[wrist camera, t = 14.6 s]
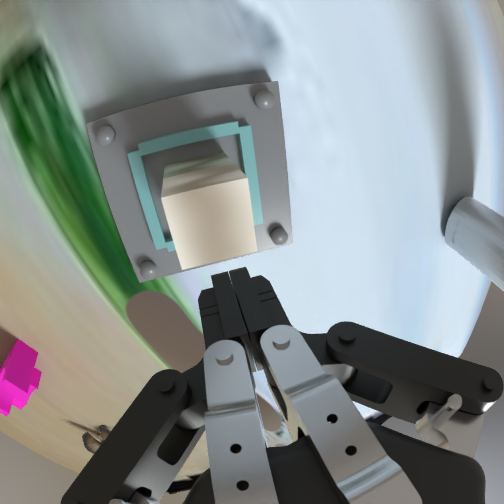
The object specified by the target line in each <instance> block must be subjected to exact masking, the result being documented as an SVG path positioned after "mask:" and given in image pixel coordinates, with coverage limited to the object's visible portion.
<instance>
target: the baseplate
mask: <svg viewBox="0 0 504 504" xmlns="http://www.w3.org/2000/svg"><path fill="white" fill-rule="evenodd" d="M86 126H87V130H88V134H89V138H90V142H91V146H92V150H93V154H94V157H95V161H96V164H97V168H98V171H99V175H100V178H101V181H102V184H103V188H104V191H105V194H106V197H107V200H108V203H109V206H110V209H111V212H112V214H113V217H114V220H115V223H116V226H117V228H118V231H119V234H120V236H121V239H122V241H123V244H124V247H125V249H126V252H127V254H128V257H129V259H130V261H131V264H132V266H133V268H134V271H135V273H136V275H137V278H138V280H139V282H140V283H141V282H144V281H148V280H152V279H156V278H160V277H164V276H168V275H172V274H176V273H180V272H184V271H188V270H192V269H195V268H199V267H203V266H207V265H211V264H215V263H219V262H223V261H227V260H231V259H235V258H238V257H242V256H246V255H250V254H254V253H258V252H262V251H266V250H270V249H273V248H277V247H281V246H285V245H289V244H293V242H292V226H291V211H290V197H289V184H288V172H287V161H286V150H285V140H284V130H283V120H282V111H281V102H280V94H279V86H278V81H274V82H263V83H253V84H244V85H236V86H229V87H223V88H216V89H211V90H205V91H200V92H194V93H190V94H185V95H180V96H176V97H171V98H167V99H163V100H159V101H155V102H152V103H148V104H144V105H141V106H137V107H134V108H131V109H127V110H124V111H121V112H118V113H115V114H112V115H109V116H106V117H103V118H101V119H98V120H95V121H92V122H90V123H87V124H86ZM222 152H224V153H225V154H226V155H227V156H228V157H229V158H230V159H231V160H232V161H233V162H234V163H235V164H236V166H237V167H238V168H239V169H240V170H241V171H242V172H243V173H244V174H245V175H246V177H247V178H248V184H249V191H250V198H251V206H252V213H253V221H254V228H255V236H256V244H257V252H253V253H249V254H245V255H241V256H237V257H233V258H229V259H225V260H221V261H217V262H213V263H209V264H205V265H201V266H197V267H193V268H189V269H185V270H182V268H181V265H180V262H179V258H178V255H177V252H176V249H175V245H174V242H173V239H172V235H171V232H170V229H169V225H168V222H167V218H166V215H165V211H164V207H163V204H162V200H161V193H162V184H163V176H164V168H165V165H169V164H173V163H177V162H181V161H185V160H190V159H194V158H199V157H203V156H208V155H212V154H217V153H222Z"/></svg>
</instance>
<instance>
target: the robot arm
mask: <svg viewBox="0 0 504 504" xmlns="http://www.w3.org/2000/svg"><path fill="white" fill-rule="evenodd" d="M445 240H446V243H447V244H448V245H449V246H450V247H451V248H453V249H454V250H455V251H456V252H458V253H459V254H460V255H461V256H463V257H464V258H465V259H466V260H468V261H469V262H470V263H471V264H472V265H474V266H475V267H476V268H477V269H478V270H480V271H481V272H482V273H483V274H484V275H485V276H487V277H488V278H489V279H490V280H491V281H492V282H494V283H495V284H496V285H497V286H498V287H499V288H500V289H501V290H502V291H504V217H503V216H501V215H499V214H498V213H496V212H495V211H493V210H492V209H490V208H488V207H487V206H485V205H484V204H482V203H480V202H478V201H477V200H475V199H473V198H472V197H469V196H467V197H464V198H463V199H461V200H460V201H459V202H458V203H457V205H456V206H455V207H454V209H453V211H452V212H451V214H450V217H449V219H448V222H447V225H446V230H445ZM229 274H230V277H229ZM229 274H228V271H227V272H223V273H219V274H215V275H211V278H212V283H213V288H209V289H205V290H202V291H201V293H200V296H199V298H198V303H199V309H200V316H201V322H202V328H203V334H204V339H205V346H206V351H205V354H204V357H203V358H202V360H201V361H200V362H199V363H198V364H197V365H196V366H194V367H193V368H191V369H189V370H187V371H185V372H183V373H180V372H179V371H177V370H173V369H166V370H162V371H160V372H158V373H156V374H155V375H153V376H152V377H151V379H150V380H149V381H148V383H147V384H146V385H145V387H144V388H143V389H142V391H141V392H140V393H139V395H138V396H137V397H136V399H135V400H134V401H133V403H132V404H131V405H130V407H129V408H128V409H127V411H126V412H125V413H124V415H123V416H122V417H121V419H120V420H119V421H118V423H117V424H116V425H115V427H114V428H113V429H112V431H111V432H110V433H109V435H108V436H107V438H106V439H105V440H104V442H103V443H102V444H101V446H100V447H99V448H98V450H97V451H96V452H95V454H94V455H93V456H92V458H91V459H90V460H89V462H88V463H87V464H86V466H85V467H84V469H83V470H82V471H81V473H80V474H79V476H78V477H77V478H76V479H75V481H74V482H73V483H72V485H71V486H70V488H69V489H68V490H67V492H66V493H65V494H64V496H63V497H62V500H61V504H161V503H160V502H159V501H160V500H161V498H162V497H163V495H164V494H165V492H166V491H167V489H168V488H169V486H170V485H171V483H172V482H173V480H174V478H175V477H176V475H177V474H178V472H179V471H180V469H181V468H182V466H183V464H184V463H185V461H186V460H187V458H188V457H189V455H190V453H191V452H192V450H193V448H194V447H195V445H196V444H197V442H198V440H199V439H200V437H201V435H202V434H203V432H204V430H206V439H207V448H208V456H209V464H210V468H209V469H207V470H206V471H205V472H204V473H203V474H202V475H201V476H200V477H199V478H198V479H197V481H196V482H195V483H194V485H193V487H192V488H191V490H190V492H189V494H188V496H187V497H186V499H185V501H184V502H183V504H485V475H484V471H483V469H482V467H481V466H480V464H479V463H478V462H477V461H476V460H475V459H473V458H474V455H475V451H476V448H477V444H478V441H479V437H480V433H481V429H482V425H483V421H484V416H485V413H486V411H487V410H488V408H490V407H491V406H492V405H493V404H494V403H495V402H496V401H497V400H498V398H499V397H500V396H501V395H502V392H503V381H502V378H501V376H500V375H499V373H498V372H497V371H495V370H494V369H492V368H489V367H485V366H482V365H479V364H476V363H472V362H469V361H466V360H462V359H460V358H456V357H453V356H450V355H447V354H444V353H441V352H438V351H435V350H432V349H429V348H426V347H423V346H420V345H417V344H414V343H411V342H408V341H405V340H402V339H399V338H396V337H393V336H390V335H387V334H385V333H382V332H379V331H376V330H373V329H370V328H368V327H365V326H362V325H359V324H356V323H353V322H340V323H337V324H335V325H333V326H332V327H331V328H330V329H329V330H328V332H327V333H323V334H306V333H302V332H300V331H298V330H297V329H295V328H294V327H293V326H292V325H291V323H290V322H289V320H288V318H287V316H286V314H285V312H284V310H283V307H282V305H281V303H280V301H279V299H278V298H277V295H276V293H275V291H274V289H273V287H272V285H271V283H270V281H268V280H267V279H266V278H264V277H263V276H261V275H260V276H256V277H252V278H250V275H249V273H248V270H247V268H246V267H243V268H239V269H235V270H231V271H229ZM230 279H231V280H230ZM231 283H232V284H231ZM253 358H254V360H253ZM254 361H255V364H256V367H257V370H258V371H259V370H262V369H264V372H265V375H266V378H267V382H268V386H269V389H270V391H271V393H272V395H273V397H274V399H275V402H276V404H277V406H278V408H279V410H280V412H281V414H282V416H283V418H284V421H285V423H286V425H287V428H288V431H289V434H290V436H291V439H292V441H293V443H291V444H290V445H288V446H283V447H268V443H267V439H266V436H265V432H264V427H263V423H262V419H261V414H260V410H259V406H258V401H257V397H256V392H255V381H254V377H253V373H252V372H256V368H255V364H254ZM352 401H355V402H357V403H359V404H362V405H364V406H367V407H369V408H372V409H375V410H377V411H380V412H382V413H385V414H388V415H391V416H393V417H396V418H399V419H402V420H405V421H408V422H411V423H414V424H416V430H417V433H418V435H419V437H420V438H422V439H424V440H426V441H428V442H429V443H430V444H428V443H425V442H423V441H420V440H417V439H415V438H412V437H409V436H407V435H404V434H402V433H399V432H396V431H394V430H391V429H389V428H387V427H384V426H381V425H379V424H375V423H370V422H366V421H365V420H364V418H363V417H362V415H361V414H360V412H359V411H358V409H357V408H356V406H355V405H354V403H353V402H352Z"/></svg>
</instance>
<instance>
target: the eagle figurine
mask: <svg viewBox="0 0 504 504" xmlns="http://www.w3.org/2000/svg"><path fill="white" fill-rule="evenodd" d="M99 428H100V431H101V435H102V437H101V436H99V435H98V439H99V440H100V441H101V442H99V441H97V440H96V439H95V438H93V437H92V436H91V435H90V434H89V433H88V432H87V433H85V434H83V436H82V438H83V442H84V445H85V448H86V449H87V450H88V451H89V452H92V453H93V454H95V452H96V451H97V450H98V448H99V447H100V446H101V444H102V443H103V442H104V440H105V439H106V438H107V436H108V435H109V433H110V432H111V431H109V430H108V429H107V428H106V427H103V426H100V427H99Z"/></svg>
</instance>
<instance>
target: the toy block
mask: <svg viewBox="0 0 504 504" xmlns="http://www.w3.org/2000/svg"><path fill="white" fill-rule="evenodd" d="M37 355H38V352H36V351H35V350H33V349H32V348H31V347H29V346H28V345H26V344H25V343H23V342H22V341H21V340H19V339H18V340H17V341H16V343H15V345H14V346H13V348H12V349H11V351H10V353H9V354H8V356H7V358H6V359H5V361H4V363H3V364H2V366H1V368H0V413H1V414H3V415H5V416H7V415H8V414H9V412H10V408H11V405H14V406H16V407H17V408H19V409H22V408H23V407H24V406H25V405H26V404H27V401H28V399H29V397H30V395H31V393H32V392H33V391H34V390H35V389H38V386H39V381H40V377H41V373H42V372H41V371H39V370H37V369H36V368H34V366H35V362H36V359H37Z"/></svg>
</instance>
